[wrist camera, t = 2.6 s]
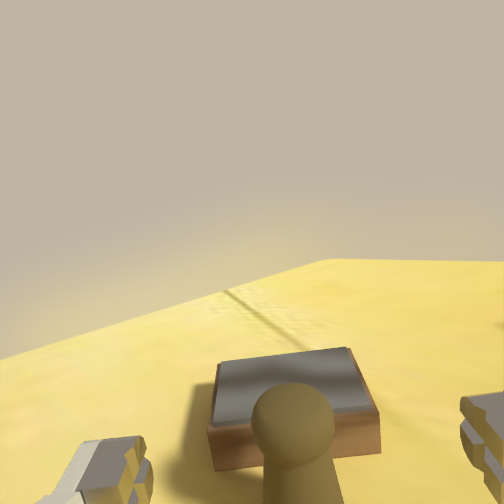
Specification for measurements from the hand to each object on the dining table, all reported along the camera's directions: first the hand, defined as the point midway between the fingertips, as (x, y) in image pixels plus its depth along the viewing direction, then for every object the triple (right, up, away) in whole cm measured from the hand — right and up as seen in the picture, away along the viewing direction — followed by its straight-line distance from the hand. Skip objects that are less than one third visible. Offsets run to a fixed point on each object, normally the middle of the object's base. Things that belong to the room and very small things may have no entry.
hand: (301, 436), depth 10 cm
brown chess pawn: (+3, -15, +17) cm, 23 cm away
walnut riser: (+3, -11, +28) cm, 30 cm away
